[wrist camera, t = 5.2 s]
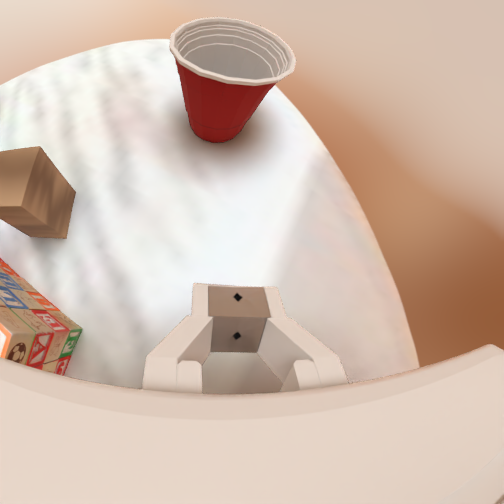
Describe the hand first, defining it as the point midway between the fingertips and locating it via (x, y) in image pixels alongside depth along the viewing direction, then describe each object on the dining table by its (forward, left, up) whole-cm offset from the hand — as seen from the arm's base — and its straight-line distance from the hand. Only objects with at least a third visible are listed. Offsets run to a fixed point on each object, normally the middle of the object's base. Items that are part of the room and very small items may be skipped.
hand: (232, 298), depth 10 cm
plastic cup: (+20, 0, -15) cm, 25 cm away
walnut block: (+8, +17, -15) cm, 24 cm away
